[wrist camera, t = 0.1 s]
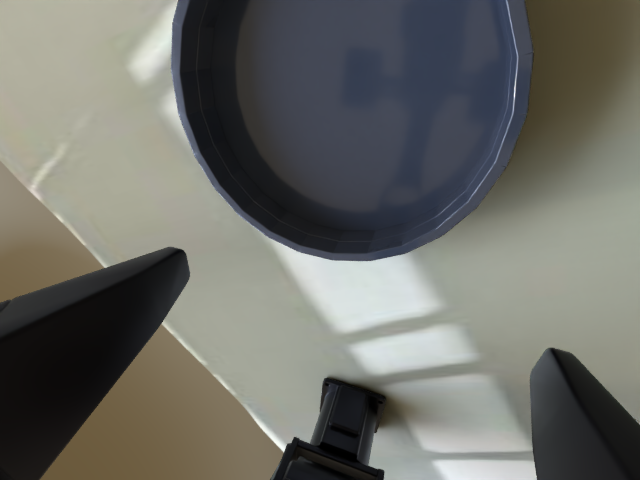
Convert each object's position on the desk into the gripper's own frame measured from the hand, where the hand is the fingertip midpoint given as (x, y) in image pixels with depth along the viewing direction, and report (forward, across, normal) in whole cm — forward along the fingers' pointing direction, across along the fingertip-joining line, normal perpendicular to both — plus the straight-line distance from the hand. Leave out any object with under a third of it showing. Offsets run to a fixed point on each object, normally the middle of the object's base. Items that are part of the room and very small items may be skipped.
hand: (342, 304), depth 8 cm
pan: (+15, +4, -2) cm, 15 cm away
